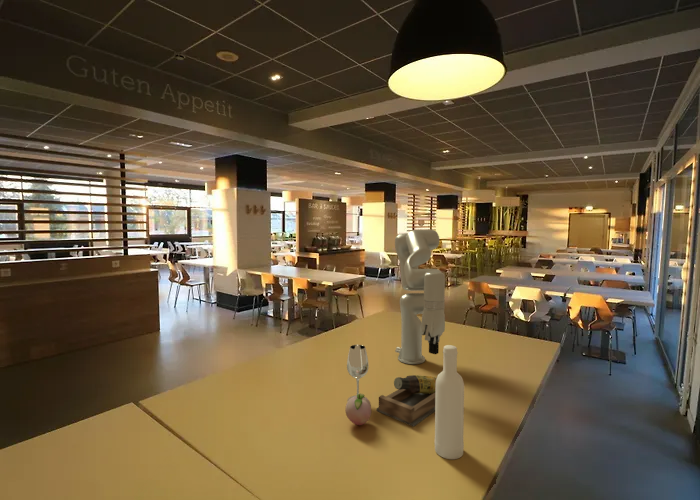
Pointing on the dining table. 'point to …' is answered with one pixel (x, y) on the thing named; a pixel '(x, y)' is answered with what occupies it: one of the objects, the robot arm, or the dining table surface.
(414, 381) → the sauce bottle
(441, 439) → the bottle
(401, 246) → the robot arm
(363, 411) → the decorative fruit
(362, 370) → the wineglass
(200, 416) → the dining table surface
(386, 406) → the cradle
